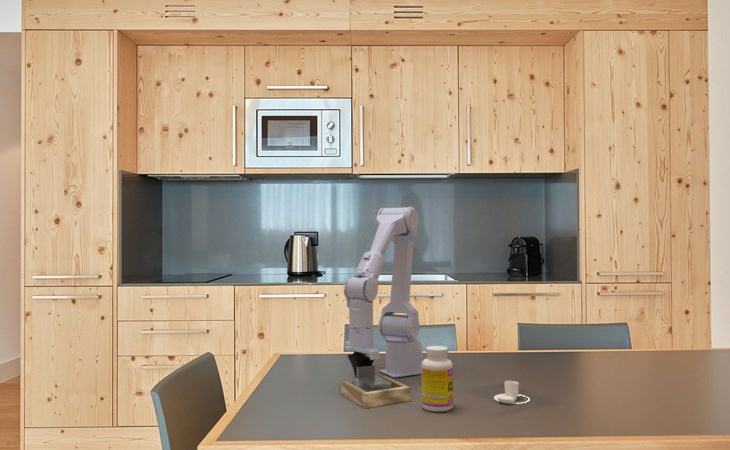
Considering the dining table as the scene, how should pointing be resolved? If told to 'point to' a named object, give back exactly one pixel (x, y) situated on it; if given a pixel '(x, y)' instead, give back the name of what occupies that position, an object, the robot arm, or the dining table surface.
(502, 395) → the teacup and saucer
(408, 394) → the dock bay
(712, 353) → the dining table surface
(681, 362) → the dining table surface
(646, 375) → the dining table surface
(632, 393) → the dining table surface
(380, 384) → the grey stepped block
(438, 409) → the supplement bottle
